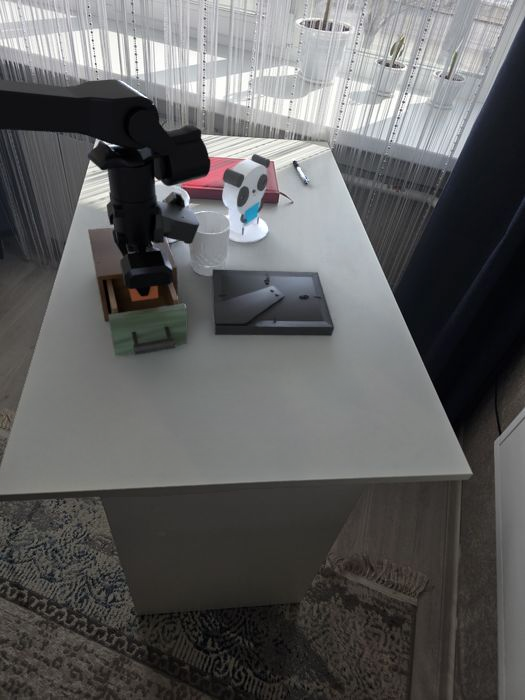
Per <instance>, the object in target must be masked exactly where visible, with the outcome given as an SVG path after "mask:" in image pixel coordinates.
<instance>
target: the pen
mask: <svg viewBox="0 0 525 700" xmlns="http://www.w3.org/2000/svg"><path fill="white" fill-rule="evenodd" d="M292 164H293V166H294V168H295V169H296V171H297V173H298V174H299V176H300V178H301V179H302V182H303V183H304V184H305V185H308V184H309V177H308V176H307V175H305V173H304V172H303V171H302V168H301V166H300V165H299V163H298V161H297V160H296V159H295V158H293V159H292Z"/></svg>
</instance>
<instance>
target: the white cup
mask: <svg viewBox="0 0 525 700" xmlns="http://www.w3.org/2000/svg"><path fill="white" fill-rule="evenodd" d="M194 213H195V215H196V217H197V219H198V221H199V223H200V224H199V227H198V229H197V232H196V234H195V237H194V239H193V242H192V243H190V244H188V245H189V254H190V267H191V269H192V270H193V272H195V273H196V274H198V275H200V276H205V277H212V276H213V270H226V260H227V257H228V251H229V244H230V239H229V235H230V227H231V222H230V220H229V219H228V218H227V217H226V216H227V215H224V214H223V213H220V212H217V211H211V210H210V211H209V210H204V211H198V212H194Z"/></svg>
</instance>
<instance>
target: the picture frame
mask: <svg viewBox="0 0 525 700" xmlns="http://www.w3.org/2000/svg"><path fill="white" fill-rule="evenodd" d="M211 279H212V297H213V301H212V302H213V320H214V324H213V325H214V335H216V336H317V337H318V336H320V337H322V336H323V337H324V336H326V337H327V336H328V337H329V336H333V333H334V329H335V325H334V322H333V319H332V315H331V312H330V309H329V306H328V303H327V299H326V295H325V293H324V289H323V286H322V283H321V279H320V275H319V272H316V271H314V272H313V271H281V270H279V271H278V270H274V271H273V270H249V269H248V270H247V269H246V270H245V269H224V270H213V276H211Z"/></svg>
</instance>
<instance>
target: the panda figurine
mask: <svg viewBox="0 0 525 700" xmlns="http://www.w3.org/2000/svg"><path fill="white" fill-rule="evenodd" d="M270 165H271V160H270V159H269V158H267V157H264V156H262V155H260V154H256V153H253V154H252V156H251V158H250V159H247V158H246V159H243V160H241V161H239V162H238V163H236V164H235V165H234V166H233V167H232V168H226V169H225V170H224V171H223V174H222V181H223V182H224V184H223V188H222V202H223V204H224V206H225V207H226V208H228V214H227V215H225V216H226V217H227V218H228V219H229V220H230V222H231V227H230V235H229V241H233V242H237V243H243V244H244V243H246V244H247V243H255V242H259V241H261V240H263V239H264V238H266V237H267V235H268V232H269V228H268V225H267V223H266V222H265V221H264V220H263V219H262V218H260V212H261V211H262V209H263V207H264V204H265V203H264V199H263V197H264V195H265V192H266V189H267V186H268V178H269V177H268V168H269V167H270Z"/></svg>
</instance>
